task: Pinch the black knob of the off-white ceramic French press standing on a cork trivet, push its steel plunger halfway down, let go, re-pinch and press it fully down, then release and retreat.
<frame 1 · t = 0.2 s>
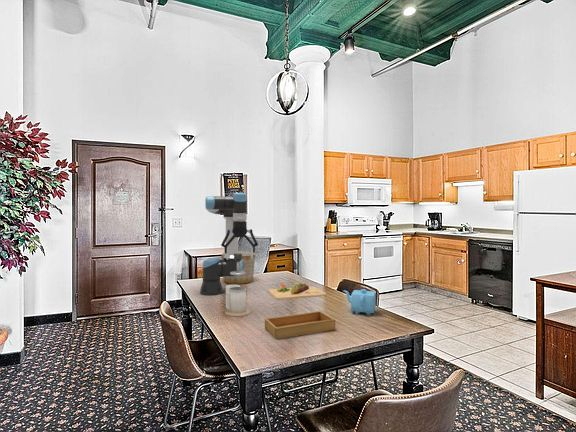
hand: (239, 258, 203), 30 cm above the table, fingers open, 13 cm apart
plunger: (237, 263, 202), point 27 cm above the table, slide at 0.0 cm
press: (237, 312, 203), on the table
tray: (299, 330, 177), on the table
cutting board: (296, 294, 248), on the table
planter: (238, 281, 285), on the table
mug: (235, 303, 222), on the table
teapot: (358, 312, 206), on the table
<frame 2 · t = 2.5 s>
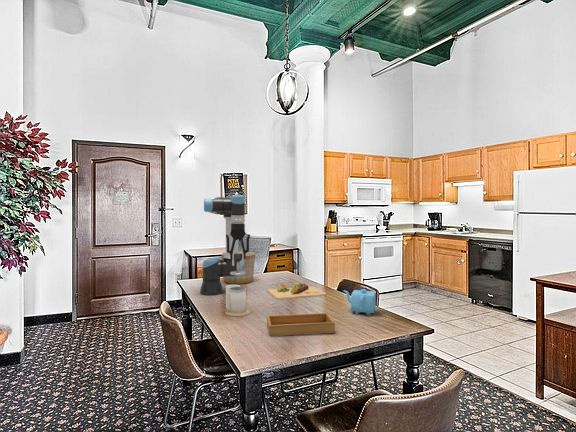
hand: (237, 265, 202), 26 cm above the table, fingers closed on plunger, 5 cm apart
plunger: (237, 263, 202), point 27 cm above the table, slide at 0.0 cm, touching gripper
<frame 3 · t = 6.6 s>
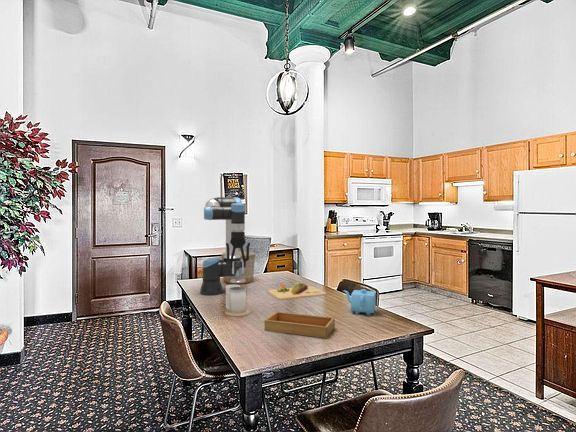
hand: (237, 273, 202), 22 cm above the table, fingers closed on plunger, 5 cm apart
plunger: (237, 271, 202), point 23 cm above the table, slide at 4.3 cm, touching gripper
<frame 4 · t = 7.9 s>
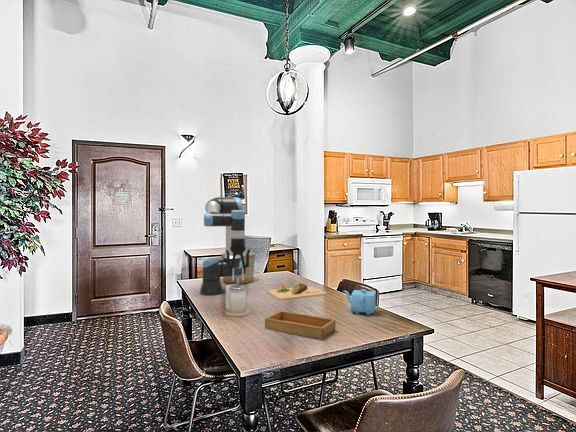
hand: (237, 279, 202), 18 cm above the table, fingers closed on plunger, 4 cm apart
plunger: (237, 278, 202), point 19 cm above the table, slide at 8.0 cm, touching gripper
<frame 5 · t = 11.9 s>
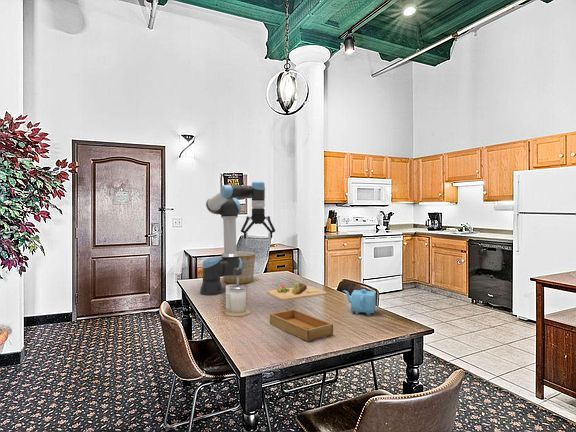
hand: (258, 244, 215), 37 cm above the table, fingers open, 13 cm apart
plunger: (237, 278, 202), point 19 cm above the table, slide at 8.0 cm
at the end: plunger slide at 8.0 cm; the gripper is holding nothing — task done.
